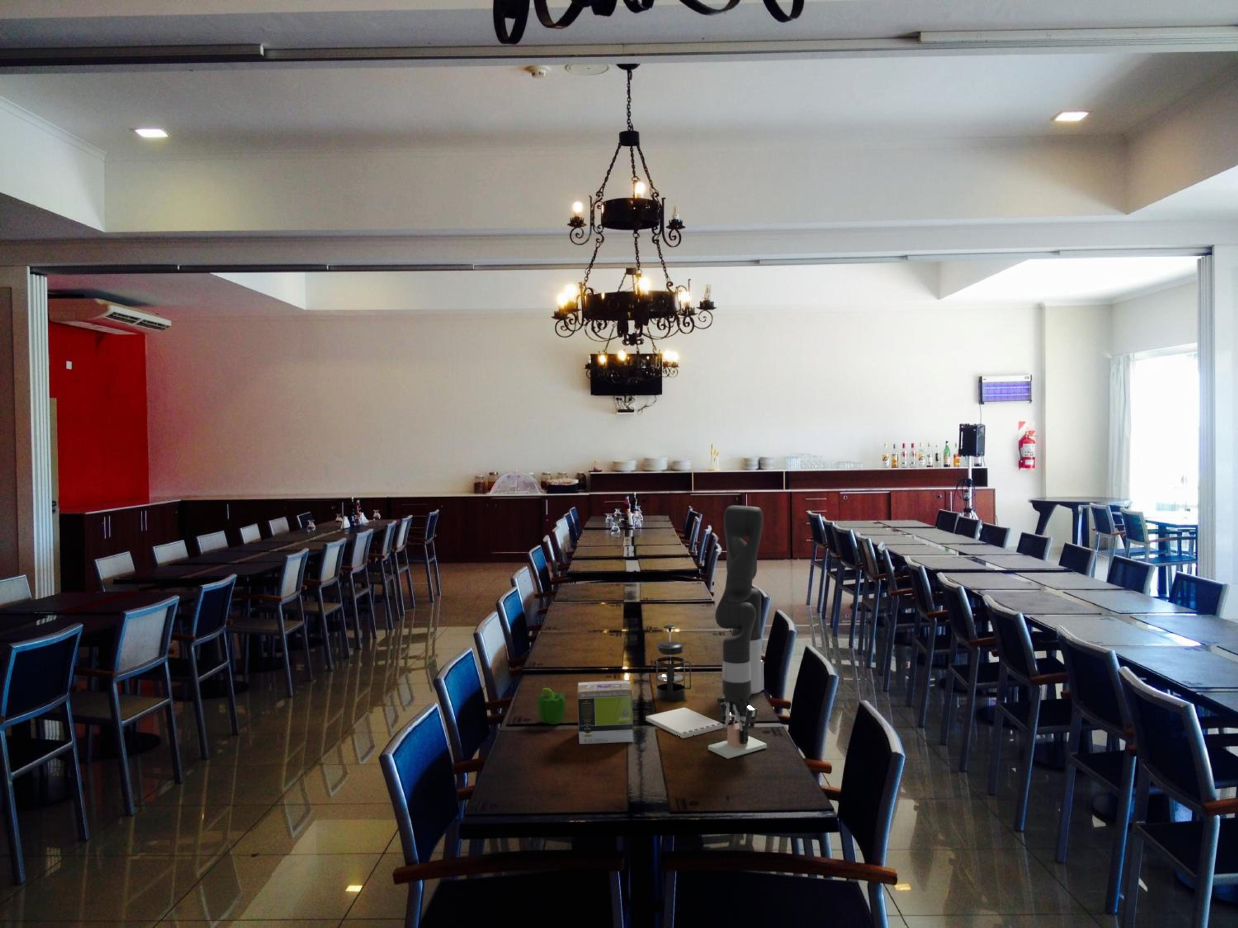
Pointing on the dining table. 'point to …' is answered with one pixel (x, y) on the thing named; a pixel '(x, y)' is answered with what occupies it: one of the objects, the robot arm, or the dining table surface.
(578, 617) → the dining table surface
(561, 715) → the bell pepper
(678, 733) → the white notebook
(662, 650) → the french press
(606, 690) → the tea box
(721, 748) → the stub
